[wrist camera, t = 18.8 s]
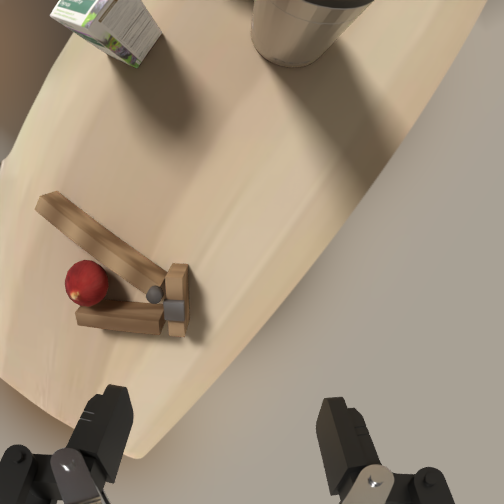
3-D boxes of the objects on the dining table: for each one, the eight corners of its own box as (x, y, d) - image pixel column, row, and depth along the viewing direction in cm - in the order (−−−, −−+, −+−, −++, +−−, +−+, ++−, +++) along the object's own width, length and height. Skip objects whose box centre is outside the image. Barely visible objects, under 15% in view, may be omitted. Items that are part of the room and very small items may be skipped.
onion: (91, 295, 40) (66, 323, 32) (73, 259, 38) (44, 282, 30) (123, 285, 39) (101, 314, 32) (105, 246, 37) (79, 269, 30)
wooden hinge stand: (82, 258, 38) (64, 272, 33) (189, 264, 39) (182, 281, 34) (90, 309, 40) (75, 328, 35) (191, 318, 41) (185, 340, 36)
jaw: (173, 276, 39) (164, 295, 34) (165, 287, 39) (156, 307, 34) (57, 190, 34) (34, 197, 29) (51, 203, 35) (29, 211, 30)
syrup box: (104, 54, 29) (44, 18, 16) (130, 17, 28) (83, -33, 14) (138, 69, 31) (85, 32, 17) (164, 31, 29) (128, -23, 15)
